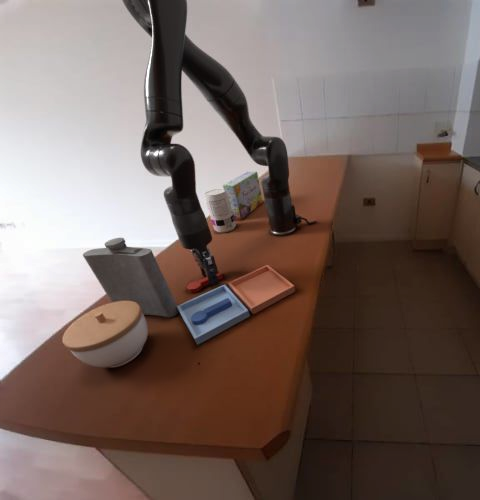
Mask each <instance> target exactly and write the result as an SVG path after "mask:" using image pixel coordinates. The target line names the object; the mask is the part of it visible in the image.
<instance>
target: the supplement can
mask: <svg viewBox="0 0 480 500" xmlns="http://www.w3.org/2000/svg"><path fill="white" fill-rule="evenodd" d="M204 202H205V204H206V207H207V208H206V209H207V211H208V214H209V218H210V220H211V223H212V226H213V230H214V231H215V232H217V233H220V234H221V233H222V234H223V233H228V232H232V231H233V230H234V229H236V227H237V223H236V220H235V219H234V215H233V212H232V208H231V204H230V201H229V197H228V194H227V193H226V191H225V190H224V188H216V189H212V190H209V191H206V192H205V193H204Z"/></svg>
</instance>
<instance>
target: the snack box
mask: <svg viewBox="0 0 480 500" xmlns="http://www.w3.org/2000/svg"><path fill="white" fill-rule="evenodd" d="M222 187H223V188H222V189H224V190H225V191H226V193H227V194H228V197H229V201H230V204H231V208H232V212H233V215H234V219H235V221H242V220H244V219H245V218H246V217H247V216H248V215H249V214H251V213H252V212H253V211H254V210H255V209H257V208H258V207H259V206H260V205H261V204H262V203H264V201H263V197H262V192H261V190H262V189H261V186H260V180H259V174H258V171H245V172H243V173H242V174H240V175H238V176H237V177H235V178H233V179H231V180H230V181H227V182H226V183H224V184H223V185H222Z"/></svg>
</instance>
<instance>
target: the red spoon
mask: <svg viewBox="0 0 480 500" xmlns="http://www.w3.org/2000/svg"><path fill="white" fill-rule="evenodd" d="M216 275H217V278H218V281H221V280H222V279H224V276H223V273H222V272H221V271H218V274H216ZM209 285H210V282H209V280H208V277H203V278H201V279H198V281H197V280H196V281H192V282H190V283H189V284H188V285H187V291H188V293H191V294H194V293H198V292H199V291H202V289H203V288H205V287H206V286H209Z"/></svg>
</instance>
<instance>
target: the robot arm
mask: <svg viewBox="0 0 480 500" xmlns="http://www.w3.org/2000/svg"><path fill="white" fill-rule="evenodd" d="M121 1H122V3H123V4H124V7H125V8H126V10H127V12H128V13H129V15H131V17H132V18H133V20H134V21H136V23H137V24H138V26H140V27H141V29H142V30H143V31H144V32H145V33H146V34H147V35H148V36H149V37H150V38H151V44H150V52H149V57H148V60H147V61H148V62H147V65H146V69H145V74H144V81H143V100H144V112H145V124H144V128H143V133H142V139H141V144H140V159H141V163H142V165H143V167H144V168H145V170H146V171H147V172H148V173H150V174H151V175H152V176H156V177H167V178H168V177H170V178H171V179H170V180H171V186H168V187H167V188H166V189H164V191H163V198H164V201H165V204H166V206H167V209H168V212H169V215H170V218H171V221H172V225H173V227H174V230H175V232H176V235H177V237H178V241H179V243H180V245H181V247H182V248H183V249H185V250H190V252H191V254H192V256H193V259H194V262H196V265H197V266H198V267H199V269H200V272H201V275H202V277H203V278H205V277H208V280H209V282H210V284H209V285H210V287H212V288H213V287H216V286H218V285H220V280H218V278H217V275H216V274H218V272H219V269H218V266H217V263H216V260H215V256H214V255H212V250H211V248H209V247H208V245H209V244H210V243H212V241H213V235H212V232H211V229H210V226H209V224H208V220H207V217H206V214H205V212H204V211H203V208H202V205H201V202H200V199H199V196H198V193H197V179H196V178H197V177H196V164H195V160H194V157H193V155H192V153H191V152H190V150H189V149H188V148H187V147H186V146H184V145H182V144H180V143H172V140H173V138H174V136H176V135H177V134H180V133H181V132H183V130H184V110H183V108H184V107H183V93H182V88H183V87H182V77H183V74H184V75H185V76H186V77H187V78H188V80H189V81H190V82H191V83H192V84H193V86H194V87H196V89H197V90H198V92H200V94H201V95H202V97H203V98H204V99H205V100H206V102H207V103H208V104H209V105H210V106H211V108H212V109H213V110H214V111H215V112H216V113H217V115H218V116H219V117H220V118H221V119H222V121H223V122H224V123H225V124H226V126H227V127H228V128H229V130H231V132H232V133H233V134H234V136H235V137H236V138H237V139H238V141H239V142H240V144H241V145H242V147H243V148H244V150H245V151H246V153H247V154H248V156H249V157H250V159H251V160H252V161H253V162H254V163H255V164H256V165H259V166H262V167H267V170H268V175H266V176H263V177H262V178H261V180H260V184H261V188H262V189H261V190H262V193H263V194H262V195H263V199H264V203H265V208H266V213H267V219H268V225H269V229H270V234H272V235H274V236H287V235H290V234H292V233H294V232H296V230H297V229H298V228H299V226H298V225H299V224H302V222H303V221H305V222H306V223H307V225H313V224H316V223H317V220H313V221H311V222H310V221H309V220H308V219H307V218H305V217H303V216H301V215H300V214H297V213H296V207H295V204H294V203H292V197H291V196H292V195H291V190H290V189H291V188H290V184H289V183H290V182H289V178H290V167H289V155H288V149H287V146H286V143H285V141H284V140H283V139H282V138H281V137H279V136H266V135H265V136H264V135H262V133H260V131H259V130H258V128H256V126H255V125H254V123H253V121H252V120H251V117H250V111H249V103H248V100H247V97H246V95H245V93H244V91H243V89H242V88H241V86H240V85H239V83H238V82H237V81H236V79H235V78H234V76H233V75H232V74H231V73H230V71H229V70H228V69H227V68H226V67H225V66H224V65H223V64H222V63H220V62H219V61H218V60H217V59H215V58H213V57H212V56H211V55H210V54H208V53H206V51H204V50H203V49H201V48H200V47H199V46H198V45H197V44H195V43H194V41H192V40H191V38H190V37H189V36H188V35H187V34H186V31H187V30H186V29H187V21H188V1H187V0H121Z"/></svg>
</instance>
